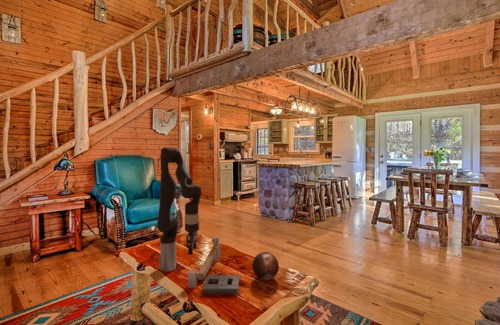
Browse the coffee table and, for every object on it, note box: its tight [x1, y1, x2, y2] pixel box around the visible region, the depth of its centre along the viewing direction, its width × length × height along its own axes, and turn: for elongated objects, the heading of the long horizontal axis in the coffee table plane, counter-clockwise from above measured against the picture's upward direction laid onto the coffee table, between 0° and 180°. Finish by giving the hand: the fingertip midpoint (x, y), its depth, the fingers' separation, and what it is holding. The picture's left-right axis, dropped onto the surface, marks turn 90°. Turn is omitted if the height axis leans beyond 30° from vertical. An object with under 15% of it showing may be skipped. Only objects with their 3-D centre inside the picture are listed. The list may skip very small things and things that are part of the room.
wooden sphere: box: [251, 251, 280, 281], centre depth 144 cm, size 15×15×15 cm
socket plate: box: [202, 274, 240, 295], centre depth 135 cm, size 18×14×3 cm
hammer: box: [197, 235, 221, 281], centre depth 156 cm, size 16×5×30 cm
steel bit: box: [187, 269, 198, 289], centre depth 137 cm, size 4×4×8 cm
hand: (192, 251), depth 136 cm, fingers open, 8 cm apart
